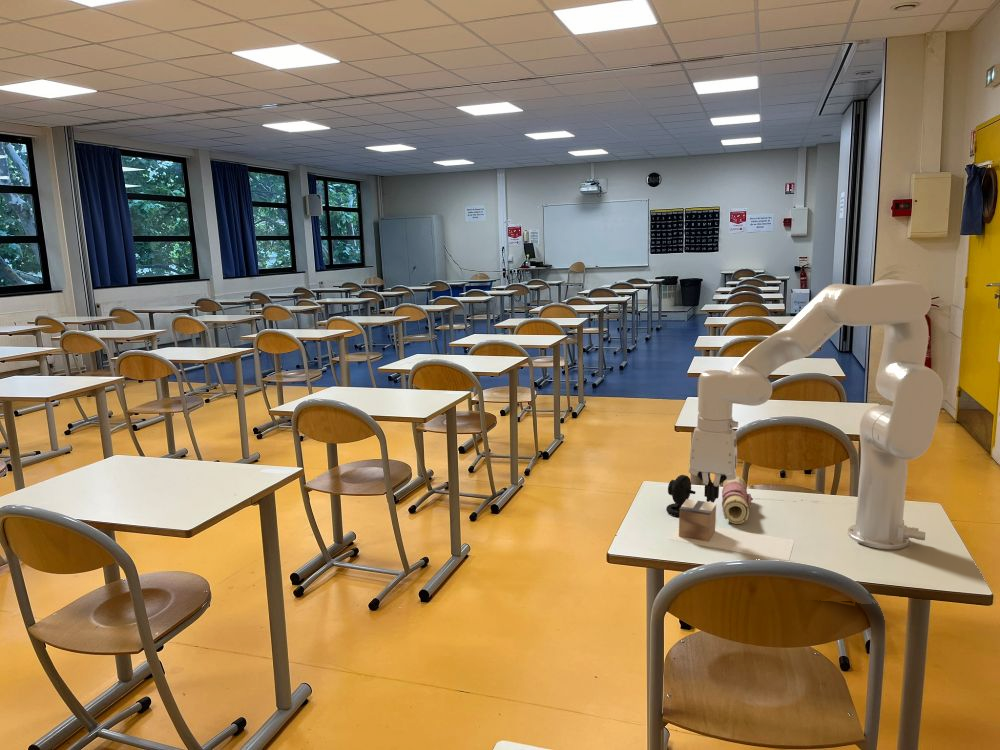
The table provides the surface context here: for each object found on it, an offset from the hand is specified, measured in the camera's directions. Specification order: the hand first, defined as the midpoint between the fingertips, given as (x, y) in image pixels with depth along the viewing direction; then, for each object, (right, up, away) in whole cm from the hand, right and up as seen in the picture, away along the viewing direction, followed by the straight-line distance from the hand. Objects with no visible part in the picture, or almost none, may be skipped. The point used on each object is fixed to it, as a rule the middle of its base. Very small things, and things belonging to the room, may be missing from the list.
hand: (711, 500), depth 165 cm
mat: (+5, -10, -1) cm, 11 cm away
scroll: (+12, -6, +17) cm, 22 cm away
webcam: (-3, -6, +18) cm, 19 cm away
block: (-3, -2, +2) cm, 4 cm away
